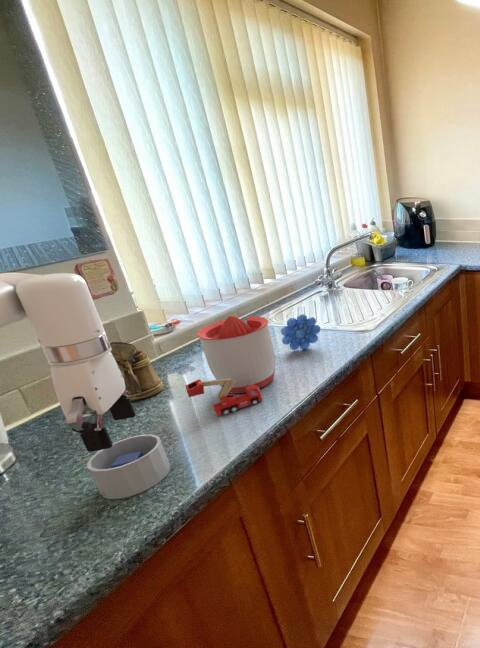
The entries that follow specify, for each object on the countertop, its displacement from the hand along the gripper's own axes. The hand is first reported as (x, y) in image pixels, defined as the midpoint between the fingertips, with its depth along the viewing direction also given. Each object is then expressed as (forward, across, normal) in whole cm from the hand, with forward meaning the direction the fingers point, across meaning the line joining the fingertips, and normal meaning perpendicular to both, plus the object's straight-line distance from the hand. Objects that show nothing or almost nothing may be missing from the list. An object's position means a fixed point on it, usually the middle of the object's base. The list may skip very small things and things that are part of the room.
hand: (113, 432), depth 74 cm
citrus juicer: (+11, -34, +15) cm, 38 cm away
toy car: (+10, 0, +1) cm, 10 cm away
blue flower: (+11, -52, +28) cm, 60 cm away
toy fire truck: (+11, -20, +13) cm, 26 cm away
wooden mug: (+11, -37, -10) cm, 40 cm away
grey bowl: (+11, 0, +1) cm, 11 cm away
